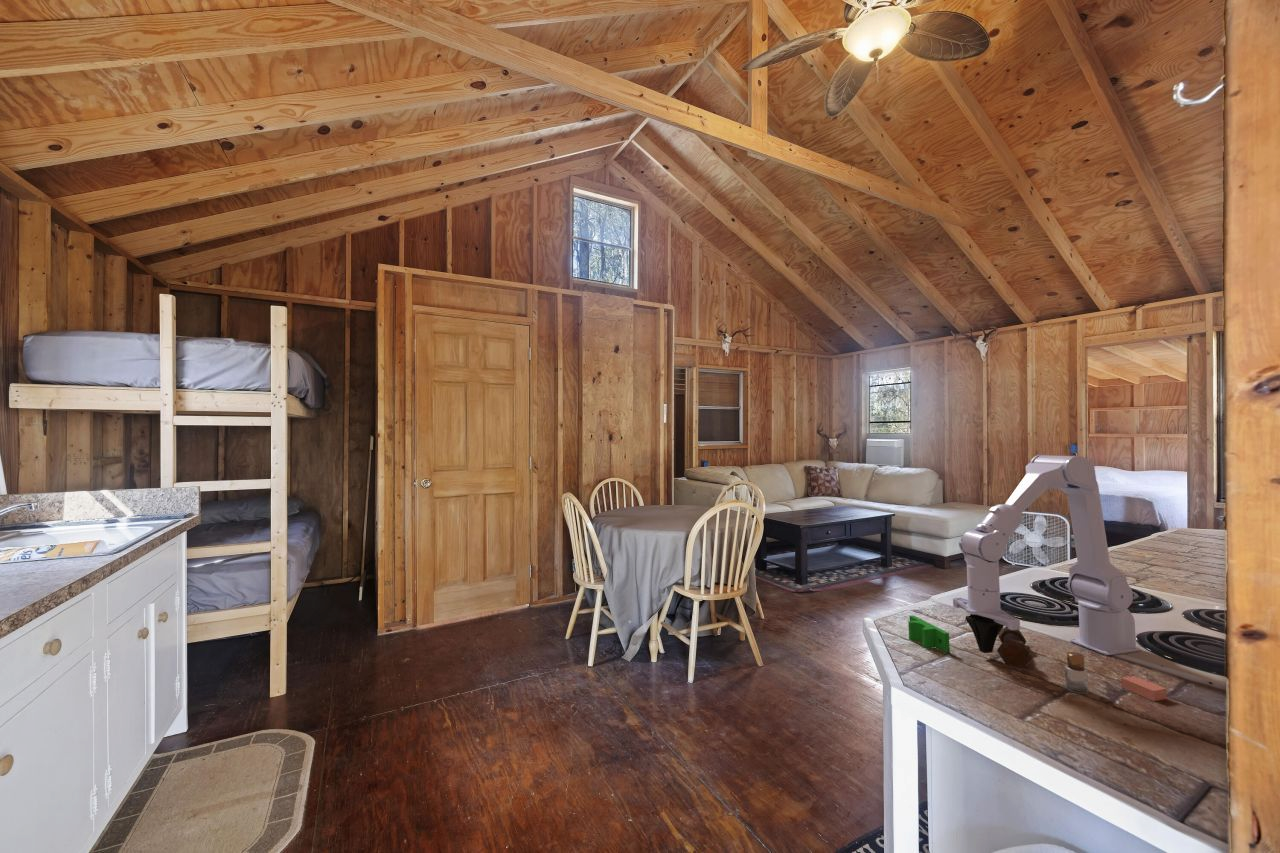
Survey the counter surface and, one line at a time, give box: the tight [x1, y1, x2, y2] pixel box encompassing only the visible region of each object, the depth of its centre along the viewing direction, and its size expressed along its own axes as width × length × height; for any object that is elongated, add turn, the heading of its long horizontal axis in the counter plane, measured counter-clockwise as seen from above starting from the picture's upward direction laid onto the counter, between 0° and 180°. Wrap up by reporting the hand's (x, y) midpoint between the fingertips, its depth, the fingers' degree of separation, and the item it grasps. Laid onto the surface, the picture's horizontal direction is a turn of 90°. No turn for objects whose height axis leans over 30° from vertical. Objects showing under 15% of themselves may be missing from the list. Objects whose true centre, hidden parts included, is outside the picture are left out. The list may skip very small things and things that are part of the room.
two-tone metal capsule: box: [1064, 651, 1089, 695], centre depth 94 cm, size 3×3×6 cm
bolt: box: [997, 626, 1033, 669], centre depth 110 cm, size 6×5×15 cm
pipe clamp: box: [907, 615, 951, 654], centre depth 116 cm, size 11×4×5 cm, turn 9°
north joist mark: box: [1120, 675, 1168, 702], centre depth 92 cm, size 3×5×2 cm, turn 12°
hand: (985, 651), depth 108 cm, fingers closed
